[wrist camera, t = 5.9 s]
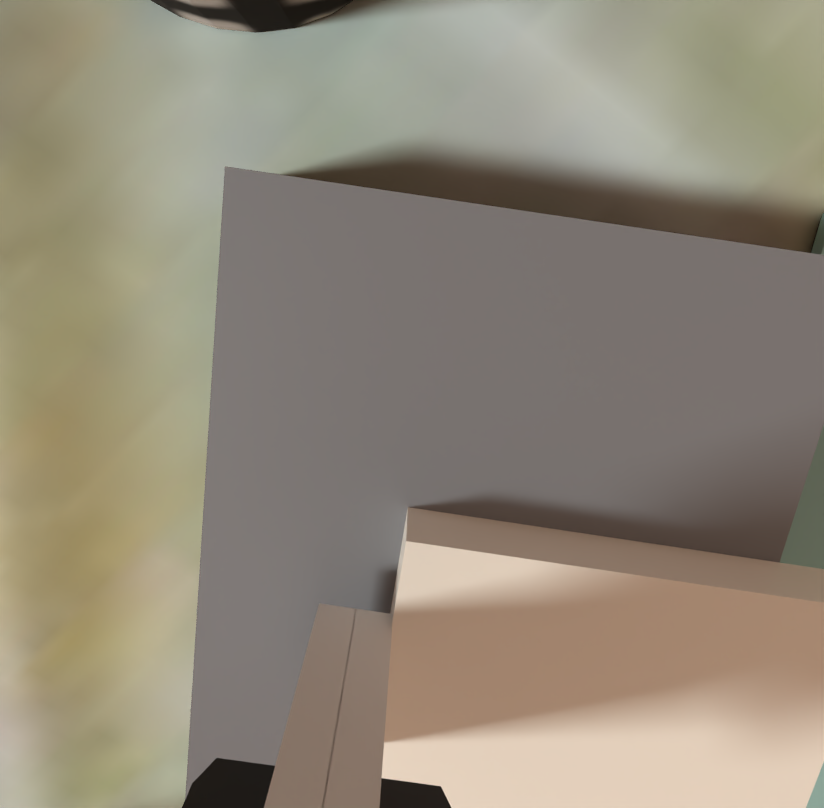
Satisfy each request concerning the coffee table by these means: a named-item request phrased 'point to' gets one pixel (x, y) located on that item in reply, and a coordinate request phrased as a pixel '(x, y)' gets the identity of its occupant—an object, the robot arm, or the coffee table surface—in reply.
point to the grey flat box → (472, 406)
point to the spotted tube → (252, 12)
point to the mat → (810, 526)
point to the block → (600, 671)
